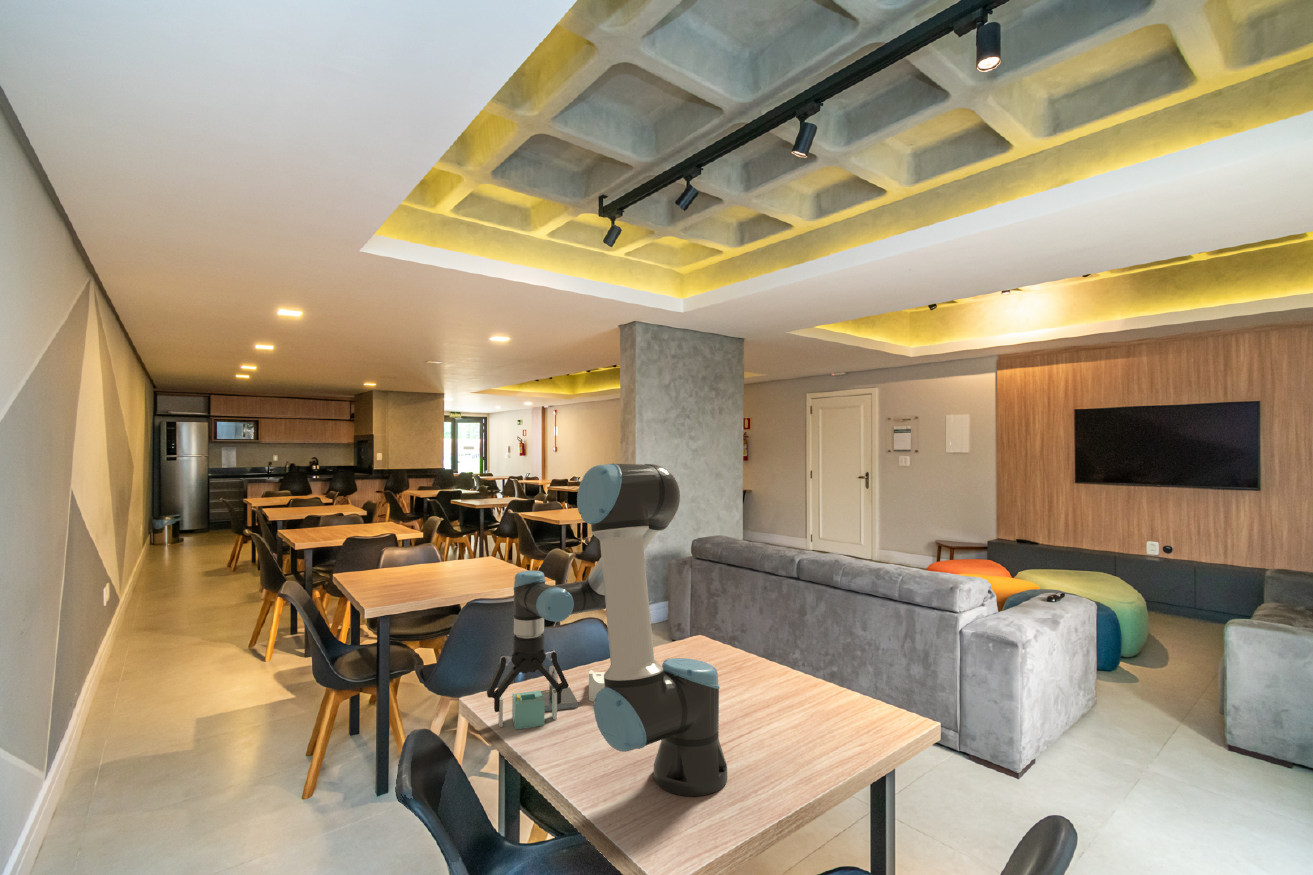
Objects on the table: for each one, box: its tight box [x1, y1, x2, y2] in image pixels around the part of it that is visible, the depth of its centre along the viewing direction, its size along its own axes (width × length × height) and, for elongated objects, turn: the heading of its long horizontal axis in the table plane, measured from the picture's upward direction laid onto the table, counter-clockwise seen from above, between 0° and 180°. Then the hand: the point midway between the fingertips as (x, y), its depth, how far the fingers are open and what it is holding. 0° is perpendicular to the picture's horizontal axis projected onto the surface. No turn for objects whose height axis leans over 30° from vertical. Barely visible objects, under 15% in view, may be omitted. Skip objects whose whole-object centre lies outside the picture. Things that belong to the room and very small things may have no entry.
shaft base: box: [540, 664, 579, 713], centre depth 163 cm, size 11×11×10 cm
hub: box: [511, 690, 545, 730], centre depth 151 cm, size 7×7×7 cm
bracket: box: [588, 669, 606, 702], centre depth 171 cm, size 13×7×8 cm, turn 1°
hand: (527, 720), depth 151 cm, fingers open, 12 cm apart
